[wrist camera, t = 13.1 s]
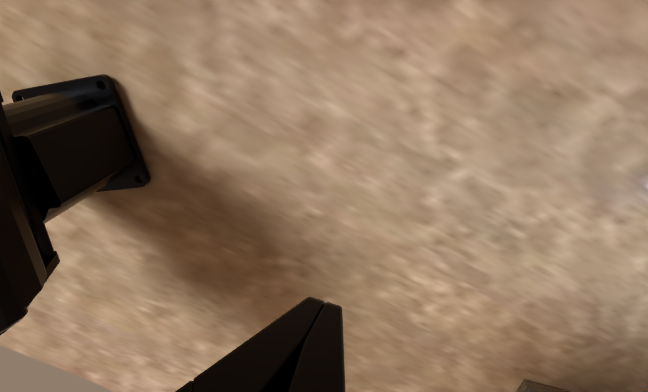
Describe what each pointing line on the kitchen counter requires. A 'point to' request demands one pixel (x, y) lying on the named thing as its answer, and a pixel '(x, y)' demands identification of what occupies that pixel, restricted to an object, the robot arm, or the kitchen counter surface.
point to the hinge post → (537, 387)
